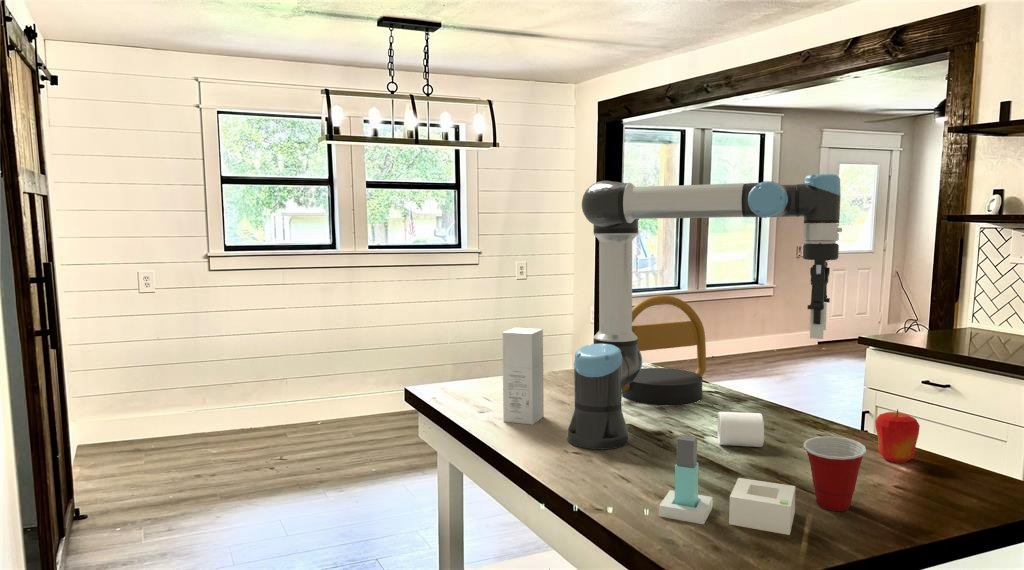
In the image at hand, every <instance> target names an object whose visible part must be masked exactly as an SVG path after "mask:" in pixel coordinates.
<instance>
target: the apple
mask: <svg viewBox="0 0 1024 570" xmlns="http://www.w3.org/2000/svg"><path fill="white" fill-rule="evenodd" d="M874 423H875V431H876V436H877V440H878V441H877V443H878V444H877V446H878V447H877V448H878V452H879V453H880V455H881V456H882V458H883V459H884V460H885V461H889V462H891V463H894V464H897V463H898V464H904V463H906V462H907V463H908V461H910V460H911V459H913V458H914V457H915V452H916V446H917V442H918V439H919V434H920V427H921V426H920V424H919V422H918V420H917V419H916V418H915V417H913V416H911V415H909V414H905V413H902V412H899V408H897V409H896V411H887V412H883V413H880V414H879V415H878V416H877V418H875V422H874Z"/></svg>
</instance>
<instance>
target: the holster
mask: <svg viewBox="0 0 1024 570" xmlns="http://www.w3.org/2000/svg"><path fill="white" fill-rule="evenodd" d="M658 509H659V510H658V512H659V513H658V516H659V517H662V518H666V519H672V520H677V521H681V522H682V521H683V522H689V523H694V524H700V525H705V523H706V521H707V520H708V517H709V515H710V513H711V512H712V510H713V496H708V495H702V494H698V505H697V507H696V508H694V507H688V506H682V505H677V504H675V490H673V489H672V490H671V489H669V491H668V492H667V494H666V495H665V497H664V498H663V499H662V500H661V502H660V504H659V507H658Z"/></svg>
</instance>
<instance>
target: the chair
mask: <svg viewBox="0 0 1024 570" xmlns="http://www.w3.org/2000/svg"><path fill="white" fill-rule="evenodd" d="M656 305H668V306H669V305H670V306H672V307H673V306H674V307H676V308H678V309H680V310H681V311H682V312H683V313H684V314H685V315H686V316H687V317H688V319H689V320H687V321H684V320H683V321H672V322H671V321H670V322H659V323H647V324H638V325H637V324H636V325H632V332H633V333H634V334H635V335H636V336H637V337H638V349H639V351H640V352H644V351H645V352H646V351H653V350H655V351H656V350H662V349H663V350H666V349H674V348H684V347H685V348H686V347H695V346H696V354H697V355H696V356H697V357H696V360H697V367H696V370H695V372H693V371H689V370H685V369H679V368H670V367H669V368H668V367H667V368H666V367H648V368H647V367H645V368H641V370H640V372H639V374H638V376H637V377H636V378H635V379H634V380H633V381H632V382H631V383H630V384H628V385H626V386H624V387H623V388H622V397H623V399H626V400H627V401H631V402H634V403H638V404H643V405H650V406H651V405H652V406H661V405H676V406H686V404H687V405H691V403H692V404H695V402H696V403H697V401H698V402H700V401H701V400H702V399H703V376H704V375H705V373H706V371H707V352H706V351H707V349H706V347H707V345H706V344H707V343H706V333H705V328H704V325H703V321H702V320H701V318H700V317H699V315H698V314H697V313H696V311H695V310H694V309H693V308H692V306H691V305H689V304H688V303H687V302H685V301H684V300H682V299H681V298H679V297H675V296H672V295H663V294H662V295H661V294H660V295H654V296H651V297H647V298H645V299H642V300H641V301H639V302H638V303H637V304H636V305H634V306H632V323H634V321H635V320H636V319H637V317H638V316H639V315H640V314H641V313H642V312H643V311H645V310H646V309H648V308H651V307H652V306H656ZM699 400H700V401H699Z"/></svg>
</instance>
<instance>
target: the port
mask: <svg viewBox="0 0 1024 570" xmlns="http://www.w3.org/2000/svg"><path fill="white" fill-rule="evenodd" d="M795 511H796V485H792V484H791V485H790V484H783V483H776V482H769V481H765V480H764V481H763V480H757V479H756V480H755V479H749V478H742V477H738V478H737V480H736V483H735V485H734V486H733V489H732V491H731V493H730V495H729V511H728V512H729V514H728V518H729V520H728V525H732V526H738V527H742V528H747V529H753V530H754V529H755V530H759V531H765V532H770V533H771V532H772V533H776V534H780V535H781V534H782V535H787V536H790V535H791V531H792V526H793V522H794V518H795V513H796V512H795Z"/></svg>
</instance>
